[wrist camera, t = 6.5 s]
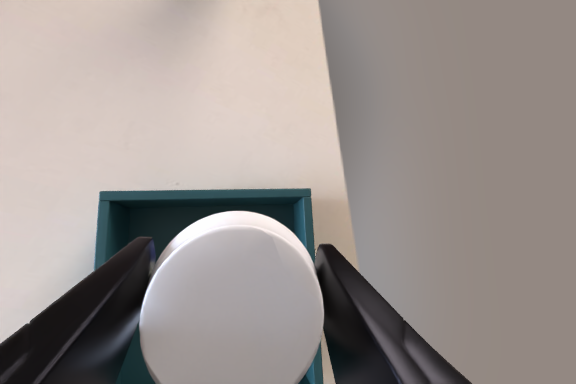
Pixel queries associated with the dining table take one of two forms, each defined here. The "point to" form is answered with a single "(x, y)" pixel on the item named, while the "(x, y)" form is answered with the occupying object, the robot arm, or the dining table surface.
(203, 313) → the pill bottle
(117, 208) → the bin
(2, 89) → the dining table surface
